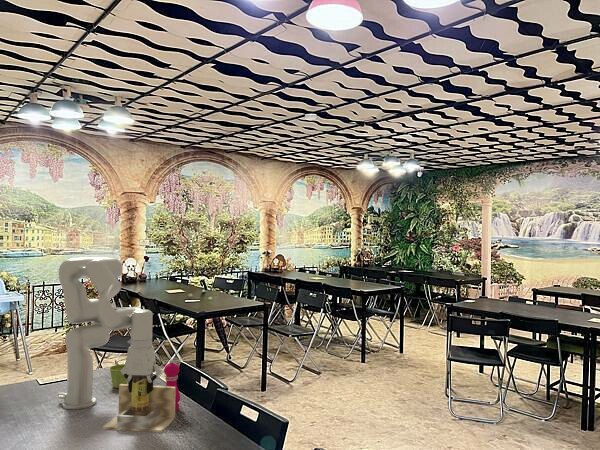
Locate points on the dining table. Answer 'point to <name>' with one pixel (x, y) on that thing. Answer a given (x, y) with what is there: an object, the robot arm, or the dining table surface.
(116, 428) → the condiment rack
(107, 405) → the dining table surface
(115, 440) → the dining table surface
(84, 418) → the dining table surface
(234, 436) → the dining table surface
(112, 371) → the plant pot
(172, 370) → the pepper mill
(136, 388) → the sauce bottle
